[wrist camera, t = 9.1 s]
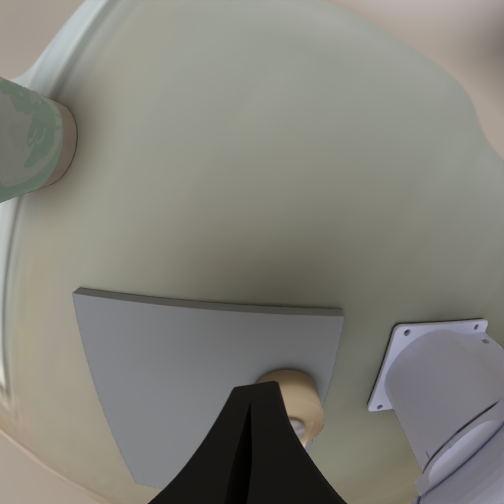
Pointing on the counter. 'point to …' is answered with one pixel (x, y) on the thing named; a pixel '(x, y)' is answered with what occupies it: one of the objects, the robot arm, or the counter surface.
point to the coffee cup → (32, 140)
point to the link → (299, 400)
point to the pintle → (298, 427)
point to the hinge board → (190, 366)
